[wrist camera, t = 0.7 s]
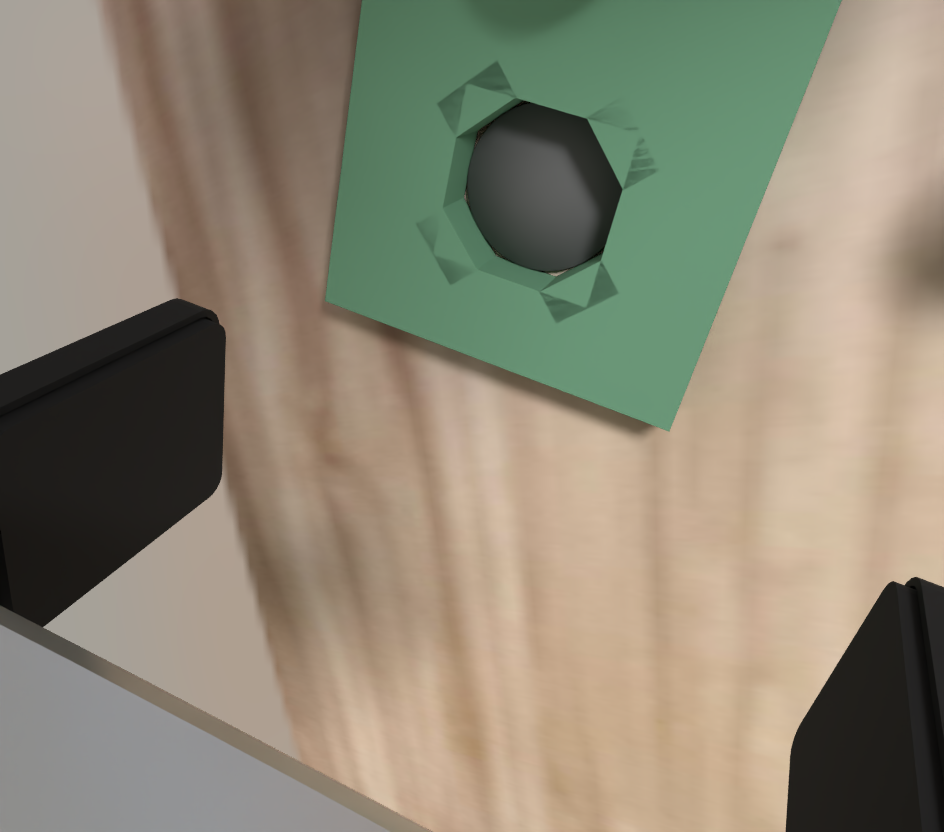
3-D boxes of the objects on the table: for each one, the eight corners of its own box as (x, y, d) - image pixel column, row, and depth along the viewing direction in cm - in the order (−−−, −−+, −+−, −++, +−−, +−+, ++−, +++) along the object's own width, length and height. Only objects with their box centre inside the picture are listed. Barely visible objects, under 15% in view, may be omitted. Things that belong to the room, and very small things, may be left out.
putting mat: (441, -371, 29) (411, -401, 27) (958, -293, 25) (970, -322, 23) (349, 287, 42) (324, 301, 40) (677, 409, 38) (669, 431, 36)
